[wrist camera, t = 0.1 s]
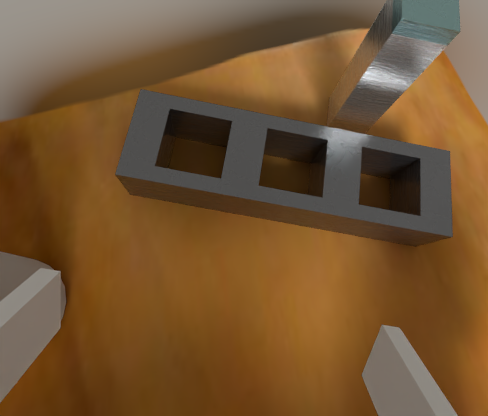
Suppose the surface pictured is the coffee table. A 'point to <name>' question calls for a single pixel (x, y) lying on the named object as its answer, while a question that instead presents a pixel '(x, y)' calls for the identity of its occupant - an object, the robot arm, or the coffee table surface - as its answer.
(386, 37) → the square peg
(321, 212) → the rack rail
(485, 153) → the coffee table surface
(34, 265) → the can
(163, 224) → the coffee table surface
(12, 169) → the coffee table surface
